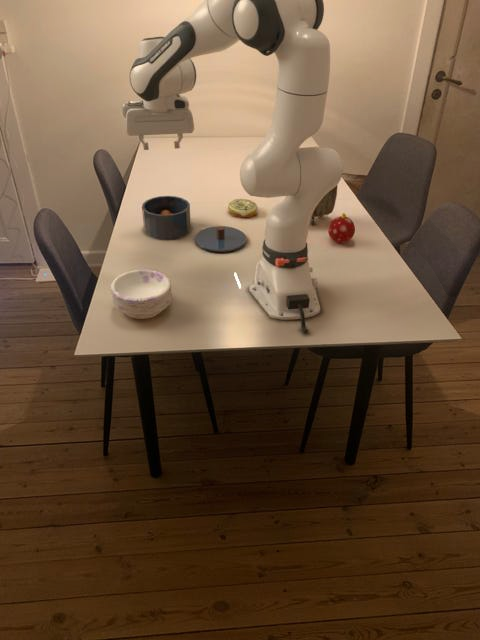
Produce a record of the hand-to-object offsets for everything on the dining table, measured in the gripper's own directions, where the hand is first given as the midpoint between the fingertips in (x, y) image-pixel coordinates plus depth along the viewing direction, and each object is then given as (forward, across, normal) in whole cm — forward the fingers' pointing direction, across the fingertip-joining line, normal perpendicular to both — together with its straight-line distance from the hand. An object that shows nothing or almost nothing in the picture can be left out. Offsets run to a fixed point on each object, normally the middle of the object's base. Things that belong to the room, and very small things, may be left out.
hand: (161, 148), depth 149 cm
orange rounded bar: (+27, 0, 0) cm, 27 cm away
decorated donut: (+27, +28, +8) cm, 40 cm away
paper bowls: (+27, -11, -45) cm, 54 cm away
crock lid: (+26, +16, -12) cm, 33 cm away
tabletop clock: (+27, +50, -4) cm, 57 cm away
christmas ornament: (+27, +55, -19) cm, 64 cm away
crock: (+27, 0, 0) cm, 27 cm away
